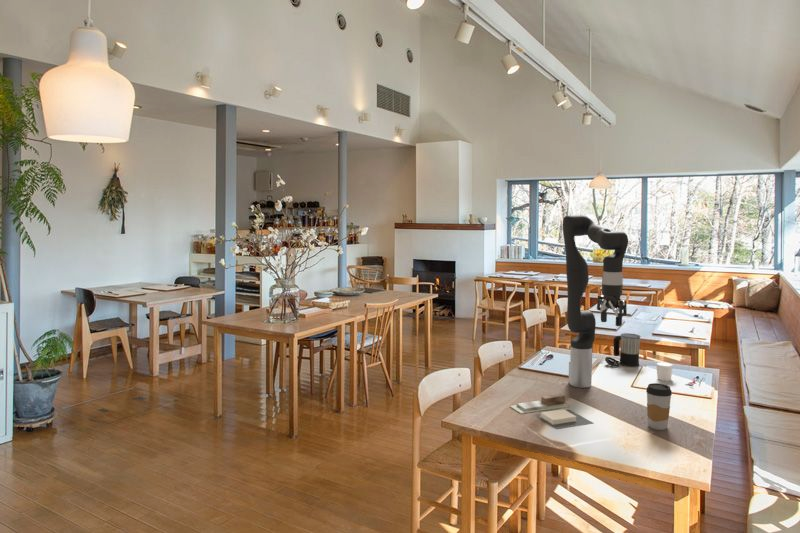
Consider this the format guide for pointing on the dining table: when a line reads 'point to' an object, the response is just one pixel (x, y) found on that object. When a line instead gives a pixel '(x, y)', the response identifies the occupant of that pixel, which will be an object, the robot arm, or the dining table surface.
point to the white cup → (664, 371)
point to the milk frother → (626, 350)
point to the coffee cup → (658, 405)
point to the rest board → (539, 409)
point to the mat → (578, 422)
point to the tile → (558, 417)
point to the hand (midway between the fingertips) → (610, 324)
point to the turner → (543, 402)
